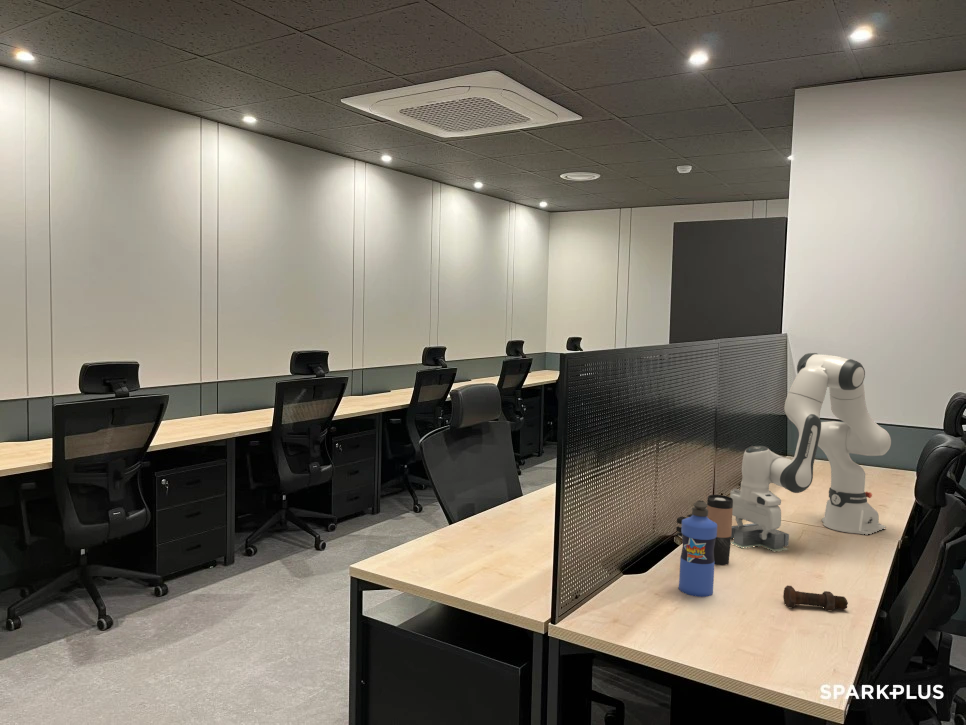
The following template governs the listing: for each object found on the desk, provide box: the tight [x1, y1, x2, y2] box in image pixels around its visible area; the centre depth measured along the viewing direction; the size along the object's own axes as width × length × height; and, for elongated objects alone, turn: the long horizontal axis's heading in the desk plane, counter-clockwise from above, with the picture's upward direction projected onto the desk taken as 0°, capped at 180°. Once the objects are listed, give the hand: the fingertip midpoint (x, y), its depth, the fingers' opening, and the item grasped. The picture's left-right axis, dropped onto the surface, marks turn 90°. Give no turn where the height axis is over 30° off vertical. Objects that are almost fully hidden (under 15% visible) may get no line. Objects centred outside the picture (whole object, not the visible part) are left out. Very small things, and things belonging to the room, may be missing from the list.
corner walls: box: [731, 522, 790, 547], centre depth 234 cm, size 18×14×4 cm
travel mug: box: [706, 494, 733, 566], centre depth 214 cm, size 8×8×20 cm
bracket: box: [732, 525, 785, 550], centre depth 230 cm, size 10×12×5 cm
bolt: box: [782, 585, 849, 611], centre depth 181 cm, size 6×5×15 cm
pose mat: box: [731, 541, 789, 553], centre depth 230 cm, size 14×12×1 cm
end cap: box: [675, 513, 693, 538], centre depth 240 cm, size 10×7×7 cm
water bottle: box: [678, 500, 717, 598], centre depth 189 cm, size 9×9×25 cm
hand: (751, 534), depth 232 cm, fingers open, 8 cm apart
